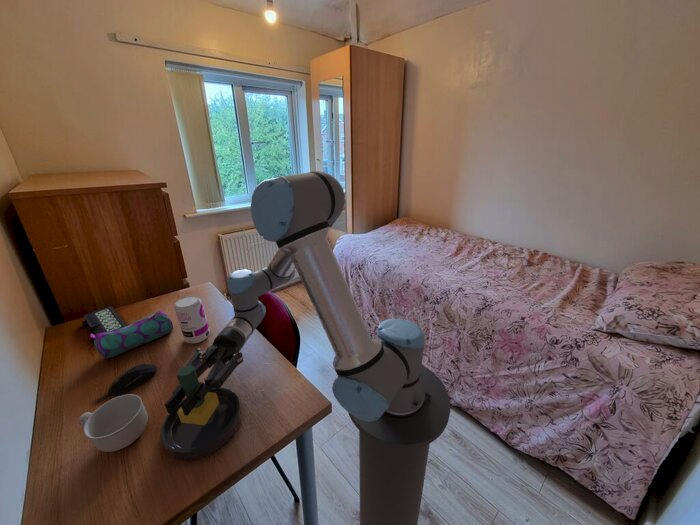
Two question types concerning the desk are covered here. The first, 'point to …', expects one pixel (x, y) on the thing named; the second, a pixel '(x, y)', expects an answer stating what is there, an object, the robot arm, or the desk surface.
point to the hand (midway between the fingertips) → (176, 410)
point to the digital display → (103, 321)
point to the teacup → (115, 423)
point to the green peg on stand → (203, 407)
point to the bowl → (202, 429)
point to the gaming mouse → (131, 379)
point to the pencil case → (132, 335)
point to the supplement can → (192, 319)
